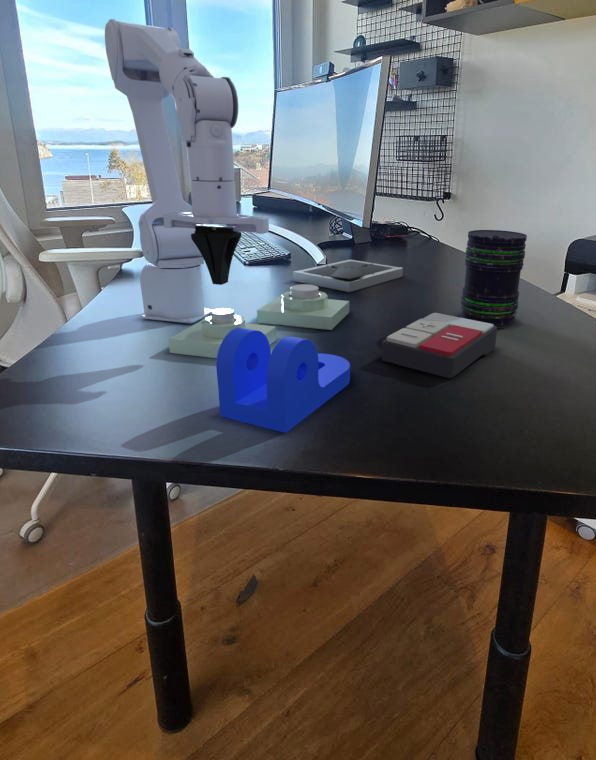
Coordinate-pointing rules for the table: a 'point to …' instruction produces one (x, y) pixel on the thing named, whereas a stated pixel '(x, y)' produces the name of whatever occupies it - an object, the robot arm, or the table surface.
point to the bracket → (275, 379)
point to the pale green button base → (211, 336)
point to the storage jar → (492, 276)
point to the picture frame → (347, 275)
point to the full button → (304, 291)
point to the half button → (222, 316)
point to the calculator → (439, 344)
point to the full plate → (304, 311)
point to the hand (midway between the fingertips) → (220, 283)
